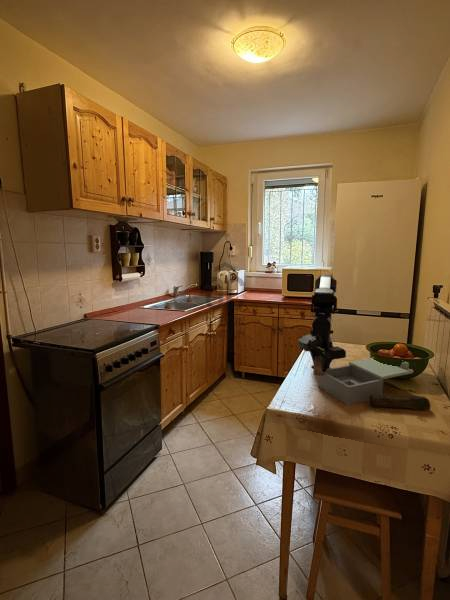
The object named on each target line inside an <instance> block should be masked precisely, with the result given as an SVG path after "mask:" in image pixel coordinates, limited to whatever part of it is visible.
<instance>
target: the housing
mask: <svg viewBox="0 0 450 600" xmlns="http://www.w3.org/2000/svg"><path fill="white" fill-rule="evenodd" d="M317 377H318V379H317V387H318V388H320V389H321V390H323V391H324V392H327V394H329V395H331V396H333V397H334V398H336V399H337V400H339V401H341V402H342V403H344V404H345V405H347V406H350V405H353V404H358V403H361V402H365V401H369V400H370V395H373V396H383V388H384V379H382V380H381V379H379V378H377V377H375V376H373V375H371V374H369V373H366V372H364V371H362V370H360V369H358V368H356V367H354V366H352V365H349V364H347V365H346V364H345V365H342V366H341V365H340V366H336V367H330V368H329V369H327V370H326V372H325V375H324V376H318V375H317Z"/></svg>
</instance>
